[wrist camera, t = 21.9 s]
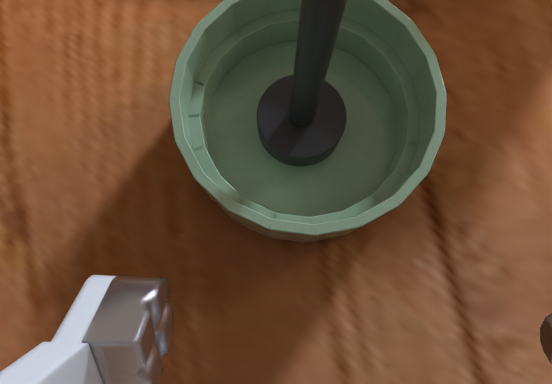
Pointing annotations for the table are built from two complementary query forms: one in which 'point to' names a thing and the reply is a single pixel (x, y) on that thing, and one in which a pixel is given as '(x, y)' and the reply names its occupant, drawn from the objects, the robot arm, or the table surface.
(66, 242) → the table surface
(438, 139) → the bowl
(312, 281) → the table surface
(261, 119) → the dark post stand
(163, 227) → the table surface
